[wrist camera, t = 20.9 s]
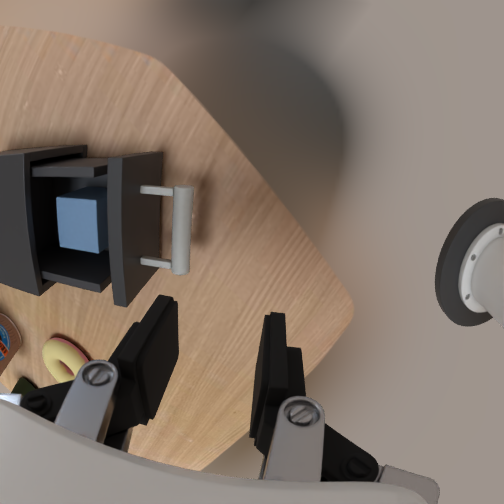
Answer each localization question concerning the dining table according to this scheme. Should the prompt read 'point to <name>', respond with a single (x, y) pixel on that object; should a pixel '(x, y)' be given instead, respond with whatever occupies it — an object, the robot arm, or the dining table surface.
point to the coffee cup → (8, 341)
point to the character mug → (22, 387)
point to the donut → (62, 359)
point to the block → (83, 219)
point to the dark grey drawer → (111, 222)
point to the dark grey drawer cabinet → (23, 216)
